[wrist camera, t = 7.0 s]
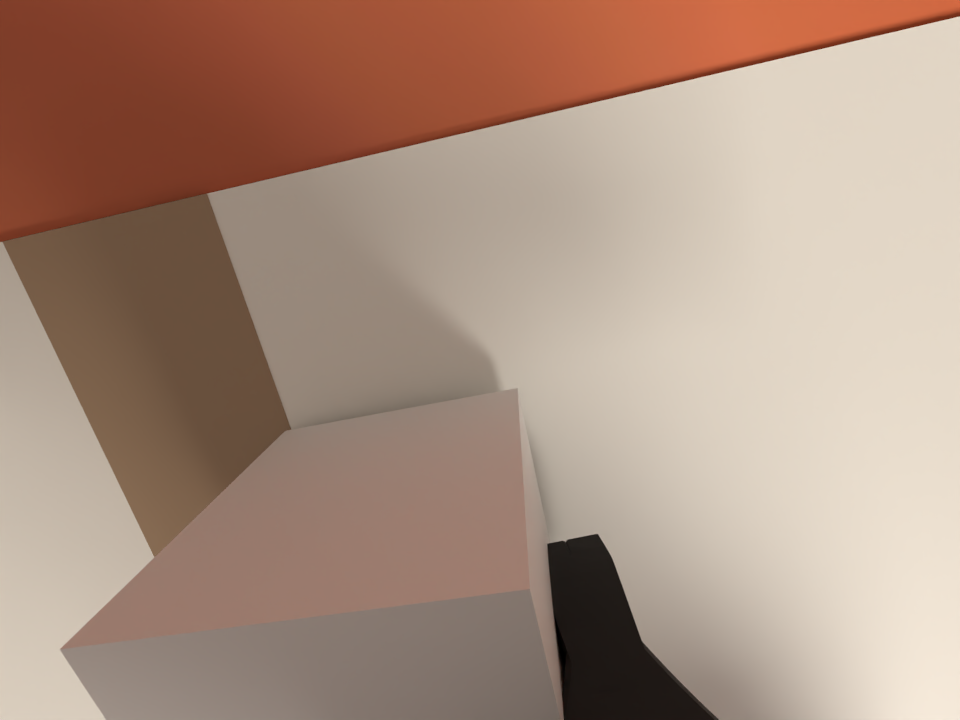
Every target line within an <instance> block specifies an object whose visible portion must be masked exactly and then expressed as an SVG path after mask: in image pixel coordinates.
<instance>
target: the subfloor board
mask: <svg viewBox="0 0 960 720" xmlns="http://www.w3.org/2000/svg"><path fill="white" fill-rule="evenodd" d="M515 388H518V393H519V397H520V402H521V407H522V412H523V416H524V421H525V426H526V431H527V436H528V440H529V445H530V450H531V455H532V459H533V464H534V469H535V474H536V478H537V483H538V488H539V493H540V497H541V502H542V507H543V512H544V516H545V521H546V526H547V531H548V536H549V540H550V543H553V542H558V541H565V542H566V541H567V540H568V539H573V538H578V537H583V536H588V535H593V534H598V535H599V537H600V538H601V540H602V541H603V543H604V545H605V546H606V548H607V550H608V552H609V553H610V555H611V557H612V559H613V562H614V564H615V567H616V570H617V573H618V575H619V578H620V581H621V584H622V586H623V589H624V592H625V595H626V598H627V601H628V603H629V606H630V609H631V612H632V615H633V618H634V620H635V623H636V626H637V629H638V632H639V634H640V637H641V640H642V642H643V643H644V644H645V645H646V646H647V647H648V648H649V649H650V651H651V652H652V653H653V654H654V655H655V656H656V657H657V658H658V659H659V660H660V661H661V662H662V663H663V664H664V666H665V667H666V668H667V669H668V670H669V671H670V672H671V673H672V674H673V675H674V676H675V677H676V678H677V679H678V680H679V681H680V682H681V683H682V684H683V685H684V686H685V687H686V688H687V689H688V690H689V691H690V692H691V693H692V694H693V695H694V696H695V697H696V698H697V699H698V700H699V701H700V702H701V703H702V704H703V705H704V706H705V707H706V708H707V709H708V710H709V711H710V712H711V713H713V714H714V715H715V716H716V717H717V718H718V719H719V720H960V16H959V17H955V18H951V19H947V20H942V21H938V22H934V23H930V24H925V25H921V26H917V27H913V28H908V29H904V30H900V31H896V32H891V33H887V34H883V35H879V36H875V37H870V38H866V39H862V40H858V41H853V42H849V43H845V44H841V45H836V46H832V47H828V48H824V49H819V50H815V51H811V52H807V53H802V54H798V55H794V56H790V57H785V58H781V59H777V60H773V61H768V62H764V63H760V64H756V65H751V66H747V67H743V68H739V69H734V70H730V71H726V72H722V73H717V74H713V75H709V76H705V77H700V78H696V79H692V80H688V81H683V82H679V83H675V84H671V85H666V86H662V87H658V88H654V89H649V90H645V91H641V92H637V93H632V94H628V95H624V96H620V97H615V98H611V99H607V100H603V101H598V102H594V103H590V104H586V105H581V106H577V107H573V108H569V109H564V110H560V111H556V112H552V113H547V114H543V115H539V116H535V117H530V118H526V119H522V120H518V121H513V122H509V123H505V124H501V125H496V126H492V127H488V128H484V129H479V130H475V131H471V132H467V133H462V134H458V135H454V136H450V137H446V138H441V139H437V140H433V141H429V142H424V143H420V144H416V145H412V146H407V147H403V148H399V149H395V150H390V151H386V152H382V153H378V154H373V155H369V156H365V157H361V158H356V159H352V160H348V161H344V162H339V163H335V164H331V165H327V166H322V167H318V168H314V169H310V170H305V171H301V172H297V173H293V174H288V175H284V176H280V177H276V178H271V179H267V180H263V181H259V182H254V183H250V184H246V185H242V186H237V187H233V188H229V189H225V190H220V191H216V192H212V193H208V194H202V195H198V196H194V197H190V198H185V199H181V200H177V201H173V202H168V203H164V204H160V205H156V206H151V207H147V208H143V209H139V210H134V211H130V212H126V213H122V214H117V215H113V216H109V217H105V218H100V219H96V220H92V221H88V222H83V223H79V224H75V225H71V226H66V227H62V228H58V229H54V230H49V231H45V232H41V233H37V234H32V235H28V236H24V237H20V238H15V239H11V240H7V241H3V242H0V720H106V719H105V718H104V716H103V714H102V713H101V711H100V710H99V708H98V707H97V705H96V704H95V702H94V701H93V699H92V698H91V696H90V695H89V693H88V692H87V690H86V689H85V687H84V686H83V684H82V683H81V681H80V680H79V678H78V677H77V675H76V674H75V672H74V670H73V669H72V667H71V666H70V664H69V663H68V661H67V660H66V658H65V657H64V655H63V654H62V652H61V651H60V648H62V647H63V646H64V645H65V644H66V643H67V642H68V641H69V640H70V639H71V638H72V637H73V636H74V635H75V634H76V633H77V632H78V631H79V630H80V629H81V628H82V627H83V626H84V625H85V624H86V623H87V622H88V621H89V620H90V619H91V618H93V617H94V616H95V615H96V614H97V613H98V612H99V611H100V610H101V609H102V608H103V607H104V606H105V605H106V604H107V603H108V602H109V601H110V600H111V599H112V598H113V597H114V596H115V595H116V594H117V593H118V592H119V591H120V590H121V589H122V588H123V587H125V586H126V585H127V584H128V583H129V582H130V581H131V580H132V579H133V578H134V577H135V576H136V575H137V574H138V573H139V572H140V571H141V570H142V569H143V568H144V567H145V566H146V565H147V564H148V563H149V562H150V561H151V560H152V559H153V558H154V557H155V556H157V555H158V554H159V553H160V552H161V551H162V550H163V549H164V548H165V547H166V546H167V545H168V544H169V543H170V542H171V541H172V540H173V539H174V538H175V537H176V536H177V535H178V534H179V533H180V532H181V531H182V530H183V529H184V528H185V527H186V526H187V525H189V524H190V523H191V522H192V521H193V520H194V519H195V518H196V517H197V516H198V515H199V514H200V513H201V512H202V511H203V510H204V509H205V508H206V507H207V506H208V505H209V504H210V503H211V502H212V501H213V500H214V499H215V498H216V497H217V496H218V495H220V494H221V493H222V492H223V491H224V490H225V489H226V488H227V487H228V486H229V485H230V484H231V483H232V482H233V481H234V480H235V479H236V478H237V477H238V476H239V475H240V474H241V473H242V472H243V471H244V470H245V469H246V468H247V467H248V466H249V465H250V464H252V463H253V462H254V461H255V460H256V459H257V458H258V457H259V456H260V455H261V454H262V453H263V452H264V451H265V450H266V449H267V448H268V447H269V446H270V445H271V444H272V443H273V442H274V441H275V440H276V439H277V438H278V437H279V436H280V435H281V434H282V433H284V432H285V431H287V430H292V429H298V428H303V427H308V426H314V425H319V424H325V423H330V422H336V421H341V420H346V419H352V418H357V417H363V416H368V415H374V414H379V413H384V412H390V411H395V410H401V409H406V408H412V407H417V406H423V405H428V404H433V403H439V402H444V401H450V400H455V399H461V398H466V397H471V396H477V395H482V394H488V393H493V392H499V391H504V390H509V389H515Z"/></svg>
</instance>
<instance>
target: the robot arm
mask: <svg viewBox="0 0 960 720" xmlns="http://www.w3.org/2000/svg"><path fill="white" fill-rule="evenodd" d="M547 547H548V561H549V573H550V583H551V594H552V604H553V614H554V618H555V623H556V628H557V632H558V637H559V642H560V646H561V651H562V656H563V661H564V665H565V675H564V685H563V692H562V699H563V714H564V720H719V719H718V718H717V717H716V716H715V715H714V714H713V713H711V712H710V711H709V710H708V709H707V708H706V707H705V706H704V705H703V704H702V703H701V702H700V701H699V700H698V699H697V698H696V697H695V696H694V695H693V694H692V693H691V692H690V691H689V690H688V689H687V688H686V687H685V686H684V685H683V684H682V683H681V682H680V681H679V680H678V679H677V678H676V677H675V676H674V675H673V674H672V673H671V672H670V671H669V670H668V669H667V668H666V667H665V666H664V664H663V663H662V662H661V661H660V660H659V659H658V658H657V657H656V656H655V655H654V654H653V653H652V652H651V651H650V649H649V648H648V647H647V646H646V645H645V644H644V643H643V642H642V640H641V637H640V634H639V632H638V629H637V626H636V623H635V620H634V618H633V615H632V612H631V609H630V606H629V603H628V601H627V598H626V595H625V592H624V589H623V586H622V584H621V581H620V578H619V575H618V573H617V570H616V567H615V564H614V562H613V559H612V557H611V555H610V553H609V552H608V550H607V548H606V546H605V545H604V543H603V541H602V540H601V538H600V537H599V535H598V534H593V535H588V536H583V537H578V538H573V539H568V540H567V541H566V542H565V541H558V542H553V543H548V544H547Z"/></svg>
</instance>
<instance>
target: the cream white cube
mask: <svg viewBox="0 0 960 720" xmlns="http://www.w3.org/2000/svg"><path fill="white" fill-rule="evenodd" d="M548 543H550V540H549V536H548V531H547V526H546V521H545V516H544V512H543V507H542V502H541V497H540V493H539V488H538V483H537V478H536V474H535V469H534V464H533V459H532V455H531V450H530V445H529V440H528V436H527V431H526V426H525V421H524V416H523V412H522V407H521V402H520V397H519V393H518V388H515V389H509V390H504V391H499V392H493V393H488V394H482V395H477V396H471V397H466V398H461V399H455V400H450V401H444V402H439V403H433V404H428V405H423V406H417V407H412V408H406V409H401V410H395V411H390V412H384V413H379V414H374V415H368V416H363V417H357V418H352V419H346V420H341V421H336V422H330V423H325V424H319V425H314V426H308V427H303V428H298V429H292V430H287V431H285V432H284V433H282V434H281V435H280V436H279V437H278V438H277V439H276V440H275V441H274V442H273V443H272V444H271V445H270V446H269V447H268V448H267V449H266V450H265V451H264V452H263V453H262V454H261V455H260V456H259V457H258V458H257V459H256V460H255V461H254V462H253V463H252V464H250V465H249V466H248V467H247V468H246V469H245V470H244V471H243V472H242V473H241V474H240V475H239V476H238V477H237V478H236V479H235V480H234V481H233V482H232V483H231V484H230V485H229V486H228V487H227V488H226V489H225V490H224V491H223V492H222V493H221V494H220V495H218V496H217V497H216V498H215V499H214V500H213V501H212V502H211V503H210V504H209V505H208V506H207V507H206V508H205V509H204V510H203V511H202V512H201V513H200V514H199V515H198V516H197V517H196V518H195V519H194V520H193V521H192V522H191V523H190V524H189V525H187V526H186V527H185V528H184V529H183V530H182V531H181V532H180V533H179V534H178V535H177V536H176V537H175V538H174V539H173V540H172V541H171V542H170V543H169V544H168V545H167V546H166V547H165V548H164V549H163V550H162V551H161V552H160V553H159V554H158V555H157V556H155V557H154V558H153V559H152V560H151V561H150V562H149V563H148V564H147V565H146V566H145V567H144V568H143V569H142V570H141V571H140V572H139V573H138V574H137V575H136V576H135V577H134V578H133V579H132V580H131V581H130V582H129V583H128V584H127V585H126V586H125V587H123V588H122V589H121V590H120V591H119V592H118V593H117V594H116V595H115V596H114V597H113V598H112V599H111V600H110V601H109V602H108V603H107V604H106V605H105V606H104V607H103V608H102V609H101V610H100V611H99V612H98V613H97V614H96V615H95V616H94V617H93V618H91V619H90V620H89V621H88V622H87V623H86V624H85V625H84V626H83V627H82V628H81V629H80V630H79V631H78V632H77V633H76V634H75V635H74V636H73V637H72V638H71V639H70V640H69V641H68V642H67V643H66V644H65V645H64V646H63V647H62V648H60V651H61V652H62V654H63V655H64V657H65V658H66V660H67V661H68V663H69V664H70V666H71V667H72V669H73V670H74V672H75V674H76V675H77V677H78V678H79V680H80V681H81V683H82V684H83V686H84V687H85V689H86V690H87V692H88V693H89V695H90V696H91V698H92V699H93V701H94V702H95V704H96V705H97V707H98V708H99V710H100V711H101V713H102V714H103V716H104V718H105V719H106V720H564V714H563V699H562V692H563V685H564V675H565V665H564V661H563V656H562V651H561V646H560V642H559V637H558V632H557V628H556V623H555V618H554V614H553V604H552V594H551V583H550V573H549V561H548V547H547V544H548Z"/></svg>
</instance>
